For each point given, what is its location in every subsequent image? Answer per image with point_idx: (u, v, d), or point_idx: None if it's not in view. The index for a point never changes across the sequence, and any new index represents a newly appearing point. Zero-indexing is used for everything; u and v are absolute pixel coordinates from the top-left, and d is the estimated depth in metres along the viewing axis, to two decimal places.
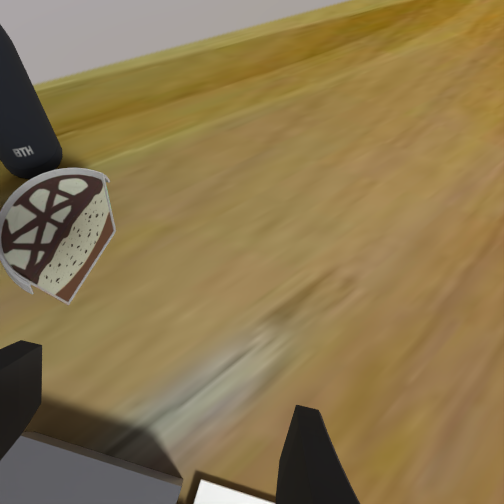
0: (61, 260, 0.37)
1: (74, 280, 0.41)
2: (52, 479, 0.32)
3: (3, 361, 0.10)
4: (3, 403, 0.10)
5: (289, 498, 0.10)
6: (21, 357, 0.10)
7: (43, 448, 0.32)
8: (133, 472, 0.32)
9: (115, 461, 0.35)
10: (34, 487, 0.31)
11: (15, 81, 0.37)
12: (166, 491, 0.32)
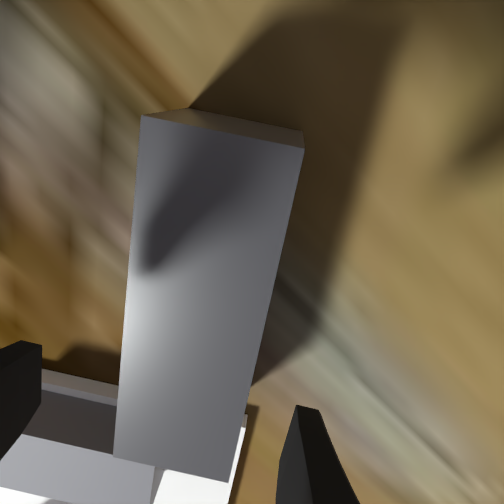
0: None
1: None
2: (212, 271, 0.14)
3: (3, 361, 0.10)
4: (3, 403, 0.10)
5: (289, 498, 0.10)
6: (21, 357, 0.10)
7: (272, 238, 0.14)
8: (243, 411, 0.16)
9: None
10: (193, 238, 0.14)
11: None
12: (216, 462, 0.17)
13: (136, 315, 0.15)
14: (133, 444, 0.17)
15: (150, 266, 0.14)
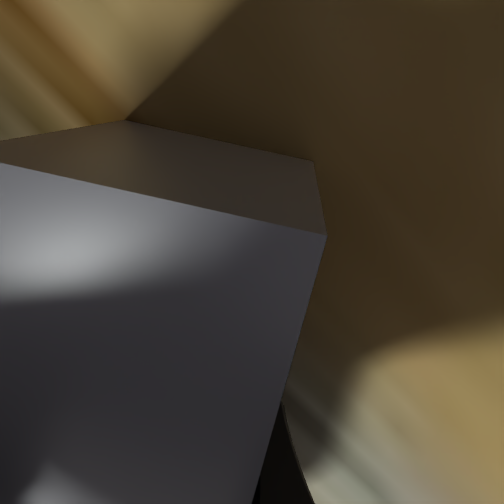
0: None
1: None
2: (130, 459, 0.07)
3: None
4: None
5: None
6: None
7: (252, 411, 0.06)
8: None
9: None
10: (88, 401, 0.07)
11: None
12: None
13: None
14: None
15: (8, 444, 0.07)
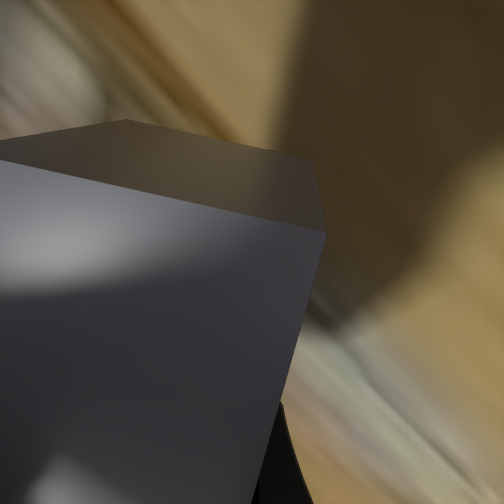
0: None
1: None
2: (132, 455, 0.07)
3: None
4: None
5: None
6: None
7: (253, 406, 0.06)
8: None
9: None
10: (91, 397, 0.07)
11: None
12: None
13: None
14: None
15: (12, 440, 0.07)
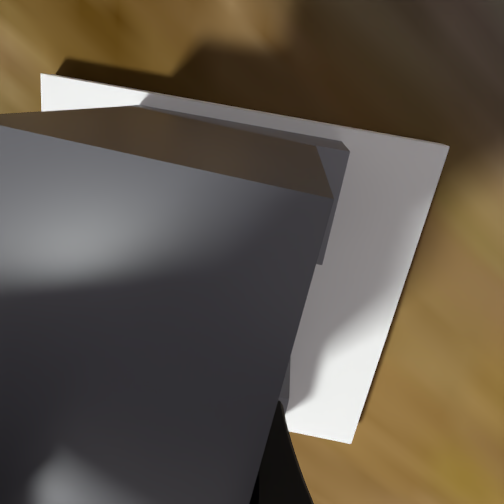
0: None
1: None
2: (138, 429, 0.07)
3: None
4: None
5: None
6: None
7: (259, 378, 0.06)
8: None
9: None
10: (97, 370, 0.07)
11: None
12: None
13: (2, 493, 0.08)
14: None
15: (18, 415, 0.07)
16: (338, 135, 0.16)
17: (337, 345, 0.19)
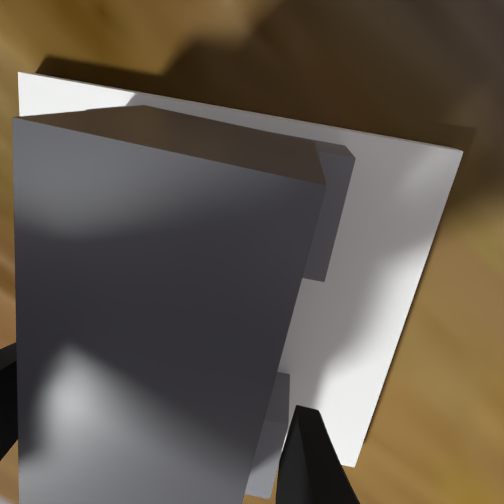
0: None
1: None
2: (158, 389, 0.08)
3: (3, 361, 0.10)
4: (3, 403, 0.10)
5: (289, 498, 0.10)
6: None
7: (264, 341, 0.08)
8: None
9: None
10: (123, 336, 0.08)
11: None
12: None
13: (37, 448, 0.09)
14: None
15: (53, 377, 0.08)
16: (342, 139, 0.15)
17: (340, 363, 0.18)
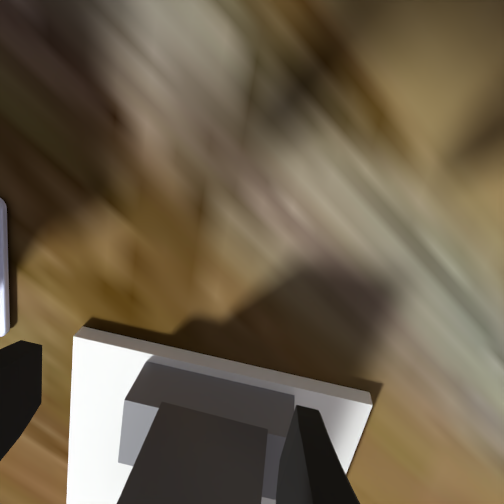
0: None
1: None
2: None
3: (3, 361, 0.10)
4: (3, 403, 0.10)
5: (289, 498, 0.10)
6: (21, 357, 0.10)
7: None
8: None
9: None
10: None
11: None
12: None
13: None
14: None
15: None
16: (292, 391, 0.22)
17: None
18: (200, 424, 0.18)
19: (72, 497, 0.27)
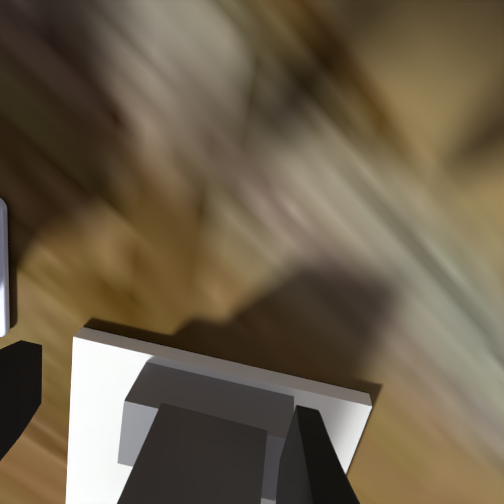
0: None
1: None
2: None
3: (3, 361, 0.10)
4: (3, 403, 0.10)
5: (289, 498, 0.10)
6: (21, 357, 0.10)
7: None
8: None
9: None
10: None
11: None
12: None
13: None
14: None
15: None
16: (291, 393, 0.22)
17: None
18: (200, 425, 0.18)
19: (71, 497, 0.27)
